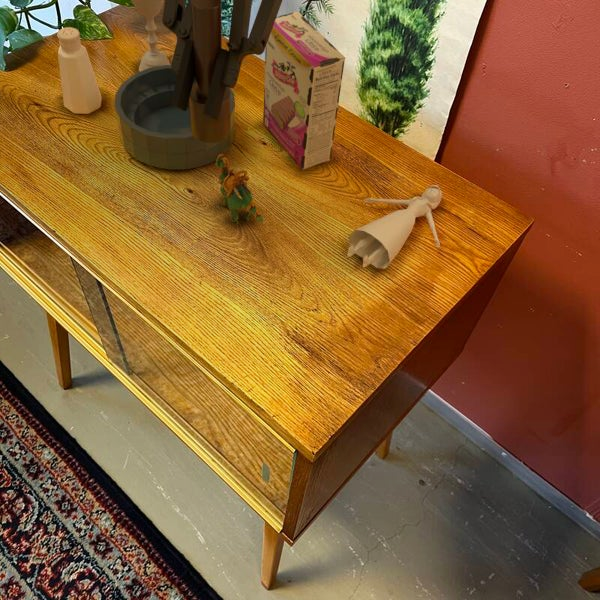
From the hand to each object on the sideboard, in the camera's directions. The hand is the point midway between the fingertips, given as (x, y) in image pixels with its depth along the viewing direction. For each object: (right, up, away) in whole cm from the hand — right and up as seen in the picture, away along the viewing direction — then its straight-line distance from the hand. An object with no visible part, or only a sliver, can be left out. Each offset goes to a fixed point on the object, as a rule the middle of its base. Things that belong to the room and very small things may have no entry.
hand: (194, 112), depth 68 cm
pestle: (+1, 0, +6) cm, 6 cm away
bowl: (-6, +4, +25) cm, 26 cm away
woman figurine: (+23, -11, +17) cm, 31 cm away
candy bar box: (+10, +3, +26) cm, 28 cm away
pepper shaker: (-20, +9, +28) cm, 36 cm away
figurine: (+3, -9, +17) cm, 19 cm away
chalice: (-11, +16, +34) cm, 39 cm away
